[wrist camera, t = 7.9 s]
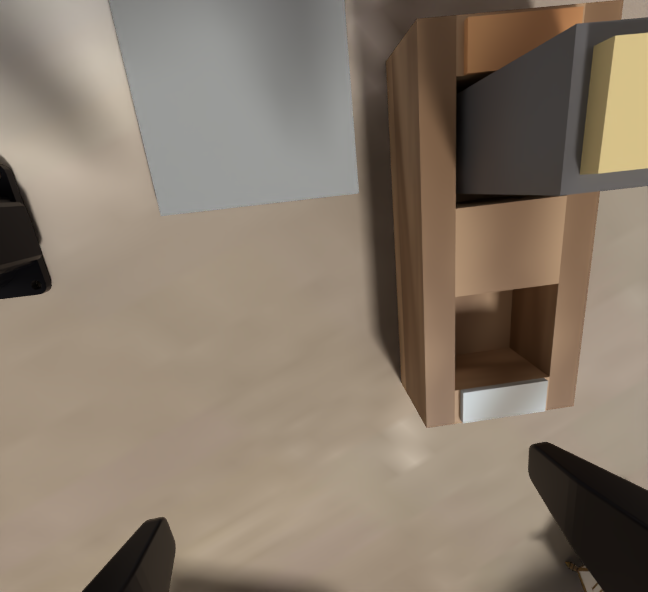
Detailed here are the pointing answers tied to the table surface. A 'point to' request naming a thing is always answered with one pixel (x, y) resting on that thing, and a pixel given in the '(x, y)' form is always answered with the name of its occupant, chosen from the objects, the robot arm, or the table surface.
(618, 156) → the plug
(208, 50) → the deck
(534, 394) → the socket strip
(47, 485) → the table surface
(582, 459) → the robot arm
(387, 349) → the table surface
